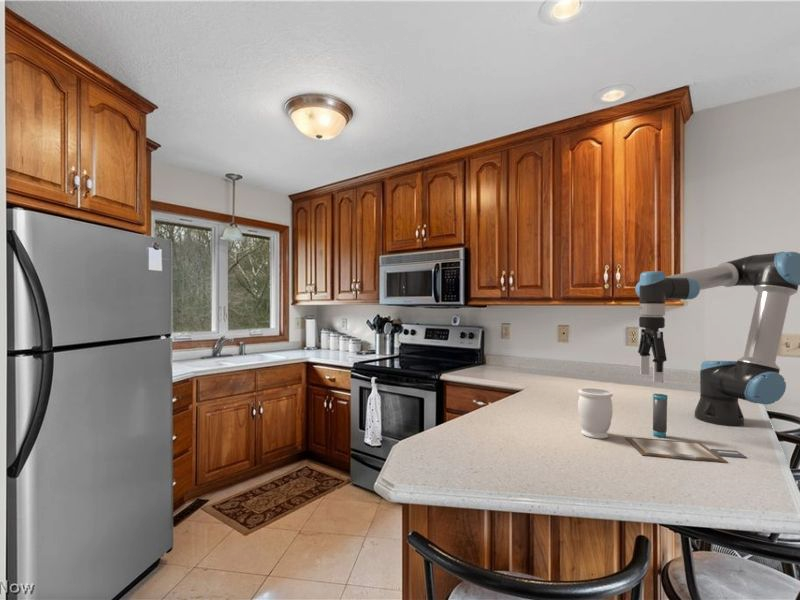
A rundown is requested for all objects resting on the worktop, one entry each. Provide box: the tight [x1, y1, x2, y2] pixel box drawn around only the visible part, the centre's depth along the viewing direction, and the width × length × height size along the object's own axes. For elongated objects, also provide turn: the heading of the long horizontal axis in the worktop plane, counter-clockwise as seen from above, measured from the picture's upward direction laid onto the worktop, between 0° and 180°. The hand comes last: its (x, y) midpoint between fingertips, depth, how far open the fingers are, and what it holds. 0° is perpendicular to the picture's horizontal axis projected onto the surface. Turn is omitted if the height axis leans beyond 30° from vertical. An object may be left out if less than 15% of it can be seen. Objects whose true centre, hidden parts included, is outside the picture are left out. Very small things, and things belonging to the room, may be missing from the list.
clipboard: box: [625, 436, 729, 464], centre depth 127 cm, size 22×16×1 cm
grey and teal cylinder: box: [652, 393, 668, 439], centre depth 140 cm, size 4×4×14 cm
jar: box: [577, 387, 614, 440], centre depth 140 cm, size 11×10×15 cm
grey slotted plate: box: [710, 448, 748, 459], centre depth 124 cm, size 7×5×1 cm
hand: (651, 378), depth 142 cm, fingers open, 13 cm apart
